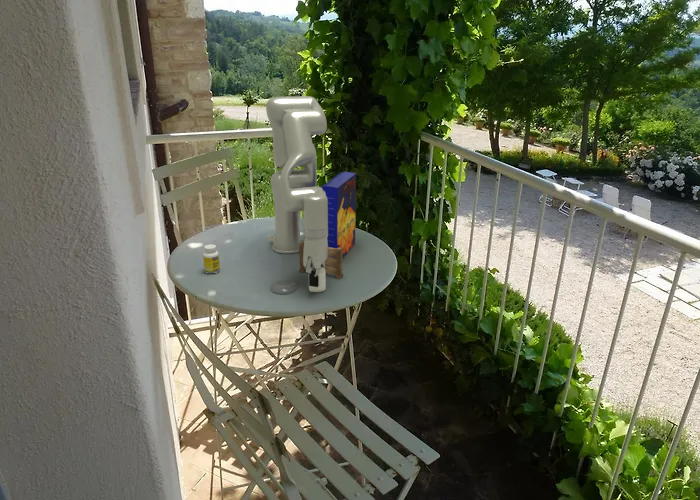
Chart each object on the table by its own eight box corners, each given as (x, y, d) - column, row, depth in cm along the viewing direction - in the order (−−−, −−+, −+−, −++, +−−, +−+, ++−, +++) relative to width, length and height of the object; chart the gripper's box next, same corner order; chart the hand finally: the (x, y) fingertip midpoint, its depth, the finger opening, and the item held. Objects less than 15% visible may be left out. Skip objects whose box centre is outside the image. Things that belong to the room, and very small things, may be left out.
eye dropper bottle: (322, 294, 165) (322, 261, 161) (307, 291, 167) (306, 258, 162) (327, 288, 169) (327, 256, 164) (312, 285, 171) (311, 253, 166)
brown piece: (299, 271, 181) (298, 243, 177) (302, 268, 184) (302, 240, 179) (340, 279, 176) (340, 250, 171) (343, 275, 178) (343, 247, 174)
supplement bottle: (215, 275, 177) (212, 250, 174) (201, 273, 179) (198, 248, 175) (223, 269, 182) (220, 244, 178) (210, 267, 184) (207, 242, 180)
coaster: (265, 291, 167) (265, 289, 166) (278, 280, 174) (278, 278, 174) (289, 296, 164) (289, 294, 163) (301, 284, 171) (301, 283, 171)
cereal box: (337, 265, 187) (337, 187, 175) (322, 262, 188) (321, 185, 177) (355, 244, 206) (356, 172, 194) (341, 242, 208) (341, 171, 196)
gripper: (316, 222, 168) (317, 271, 175) (293, 239, 154) (295, 291, 161) (337, 224, 166) (337, 274, 173) (315, 242, 151) (316, 296, 158)
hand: (317, 282), depth 167 cm, fingers closed on eye dropper bottle, 4 cm apart
